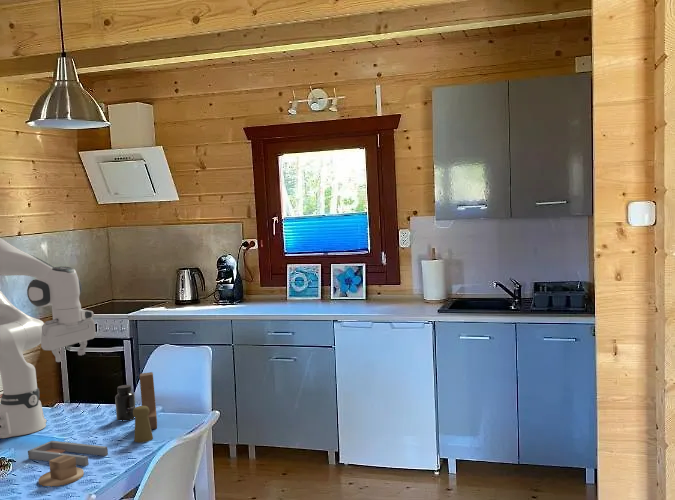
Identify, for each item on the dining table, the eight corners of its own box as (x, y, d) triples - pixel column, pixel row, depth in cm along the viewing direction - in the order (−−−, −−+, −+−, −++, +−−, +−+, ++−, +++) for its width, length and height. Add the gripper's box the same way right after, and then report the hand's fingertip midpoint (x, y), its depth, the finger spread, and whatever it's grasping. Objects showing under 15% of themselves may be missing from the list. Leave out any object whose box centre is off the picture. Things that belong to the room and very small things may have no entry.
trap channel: (28, 458, 213) (27, 450, 213) (52, 448, 222) (51, 440, 221) (85, 465, 203) (84, 457, 203) (108, 454, 212) (107, 446, 212)
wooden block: (157, 428, 234) (152, 377, 233) (143, 430, 233) (139, 379, 232) (157, 421, 243) (152, 371, 242) (144, 423, 242) (139, 373, 240)
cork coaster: (29, 484, 192) (28, 481, 192) (62, 468, 203) (61, 465, 203) (60, 488, 187) (60, 486, 187) (92, 472, 198) (92, 469, 198)
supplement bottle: (133, 421, 245) (130, 388, 244) (114, 422, 245) (111, 389, 244) (138, 415, 252) (136, 383, 251) (120, 416, 252) (117, 384, 251)
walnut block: (50, 477, 194) (49, 460, 193) (66, 471, 198) (64, 454, 197) (61, 480, 191) (59, 463, 190) (76, 474, 195) (75, 457, 195)
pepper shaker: (142, 443, 220) (139, 410, 219) (130, 441, 223) (127, 408, 222) (157, 437, 225) (154, 404, 224) (144, 435, 228) (141, 403, 227)
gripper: (49, 322, 211) (52, 366, 212) (97, 311, 230) (100, 351, 231) (34, 321, 214) (38, 365, 215) (83, 311, 232) (86, 350, 233)
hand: (70, 358), depth 223 cm, fingers open, 8 cm apart
